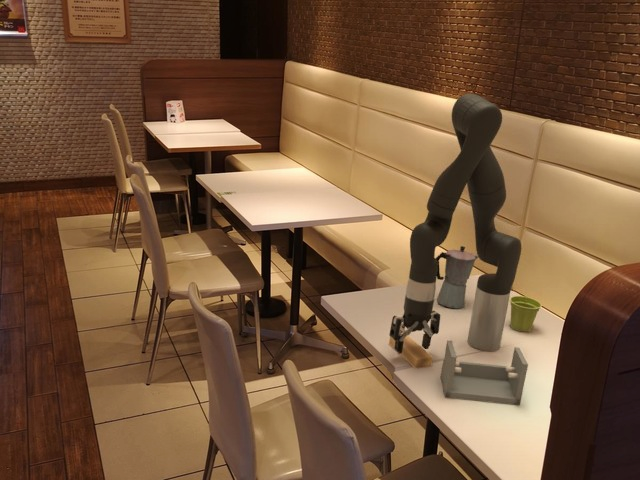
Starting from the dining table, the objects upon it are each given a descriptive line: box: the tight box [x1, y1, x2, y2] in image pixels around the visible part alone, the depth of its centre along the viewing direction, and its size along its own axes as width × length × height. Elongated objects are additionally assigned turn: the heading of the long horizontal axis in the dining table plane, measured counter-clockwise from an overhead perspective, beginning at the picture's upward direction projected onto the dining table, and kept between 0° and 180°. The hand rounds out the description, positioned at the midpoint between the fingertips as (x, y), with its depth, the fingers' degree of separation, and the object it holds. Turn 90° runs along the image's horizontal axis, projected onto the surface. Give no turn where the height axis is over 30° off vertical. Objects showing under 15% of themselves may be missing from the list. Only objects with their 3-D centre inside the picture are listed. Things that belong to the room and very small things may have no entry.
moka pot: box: [434, 245, 479, 309], centre depth 205 cm, size 10×15×20 cm, turn 112°
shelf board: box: [388, 333, 434, 369], centre depth 173 cm, size 5×14×3 cm, turn 24°
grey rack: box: [439, 340, 529, 406], centre depth 156 cm, size 10×18×11 cm, turn 87°
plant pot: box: [509, 295, 543, 332], centre depth 194 cm, size 9×9×9 cm
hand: (411, 350), depth 171 cm, fingers open, 8 cm apart
